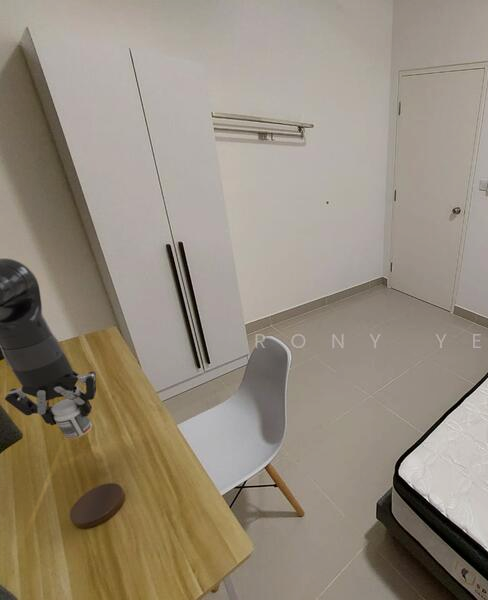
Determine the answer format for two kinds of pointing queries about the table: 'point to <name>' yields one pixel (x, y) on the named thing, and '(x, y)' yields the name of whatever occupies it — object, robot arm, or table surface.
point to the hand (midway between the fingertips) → (71, 417)
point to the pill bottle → (70, 419)
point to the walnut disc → (97, 505)
